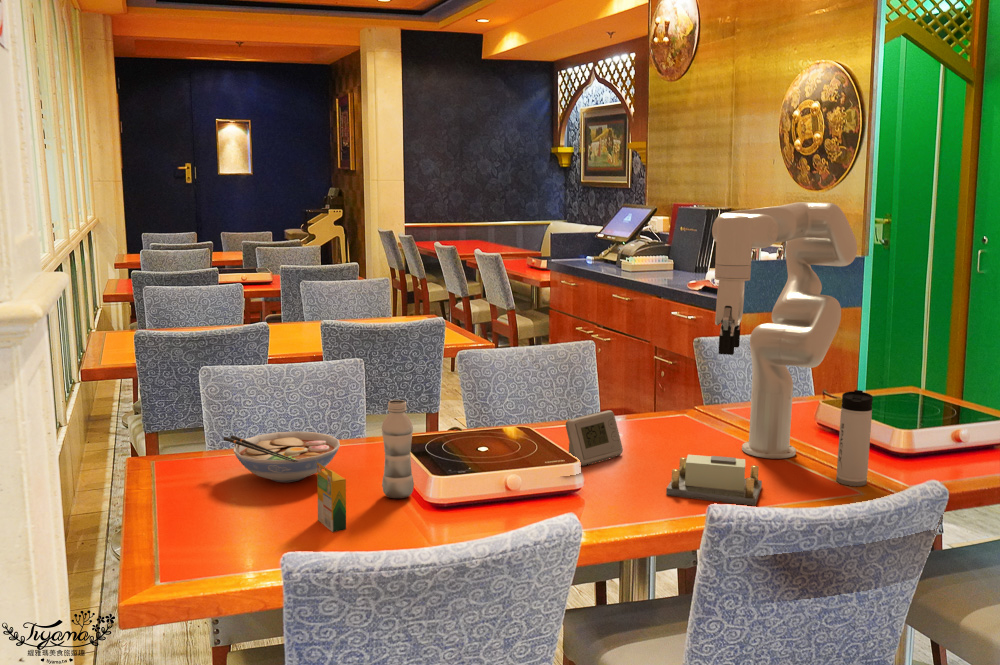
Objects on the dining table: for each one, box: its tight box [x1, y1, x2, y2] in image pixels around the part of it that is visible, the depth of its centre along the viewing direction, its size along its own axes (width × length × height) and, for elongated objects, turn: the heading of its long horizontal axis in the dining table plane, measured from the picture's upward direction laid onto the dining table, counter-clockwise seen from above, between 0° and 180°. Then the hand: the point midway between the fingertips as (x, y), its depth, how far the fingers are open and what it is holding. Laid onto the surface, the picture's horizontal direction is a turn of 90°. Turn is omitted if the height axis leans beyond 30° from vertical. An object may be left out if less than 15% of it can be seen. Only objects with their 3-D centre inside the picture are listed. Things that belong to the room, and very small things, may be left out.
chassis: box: [665, 457, 763, 507], centre depth 193 cm, size 13×18×5 cm
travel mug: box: [836, 389, 874, 487], centre depth 198 cm, size 6×7×20 cm
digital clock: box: [565, 410, 624, 467], centre depth 215 cm, size 16×9×11 cm, turn 121°
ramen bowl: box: [223, 431, 341, 483], centre depth 199 cm, size 25×23×8 cm
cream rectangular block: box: [685, 454, 746, 491], centre depth 192 cm, size 6×12×6 cm, turn 75°
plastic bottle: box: [381, 399, 415, 499], centre depth 186 cm, size 6×7×20 cm
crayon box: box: [316, 462, 347, 533], centre depth 171 cm, size 7×3×12 cm, turn 33°
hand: (729, 350), depth 201 cm, fingers open, 9 cm apart
